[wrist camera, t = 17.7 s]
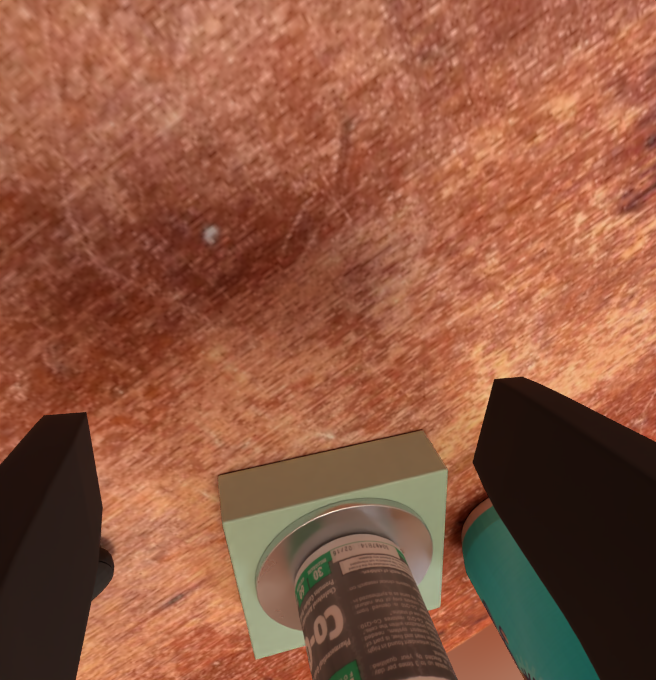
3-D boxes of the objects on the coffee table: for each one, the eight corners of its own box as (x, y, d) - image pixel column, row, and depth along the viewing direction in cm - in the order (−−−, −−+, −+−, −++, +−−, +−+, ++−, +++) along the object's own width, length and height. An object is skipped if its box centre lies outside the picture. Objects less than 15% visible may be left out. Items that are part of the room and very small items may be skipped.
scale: (248, 609, 27) (256, 669, 24) (217, 474, 22) (222, 532, 20) (423, 562, 28) (447, 614, 26) (426, 428, 24) (456, 475, 21)
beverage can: (429, 530, 27) (652, 964, 15) (521, 460, 26) (844, 856, 14) (482, 574, 30) (707, 966, 17) (567, 512, 29) (868, 878, 17)
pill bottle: (309, 527, 21) (381, 788, 14) (418, 530, 22) (533, 764, 15) (278, 610, 23) (327, 876, 16) (380, 607, 24) (467, 846, 17)
